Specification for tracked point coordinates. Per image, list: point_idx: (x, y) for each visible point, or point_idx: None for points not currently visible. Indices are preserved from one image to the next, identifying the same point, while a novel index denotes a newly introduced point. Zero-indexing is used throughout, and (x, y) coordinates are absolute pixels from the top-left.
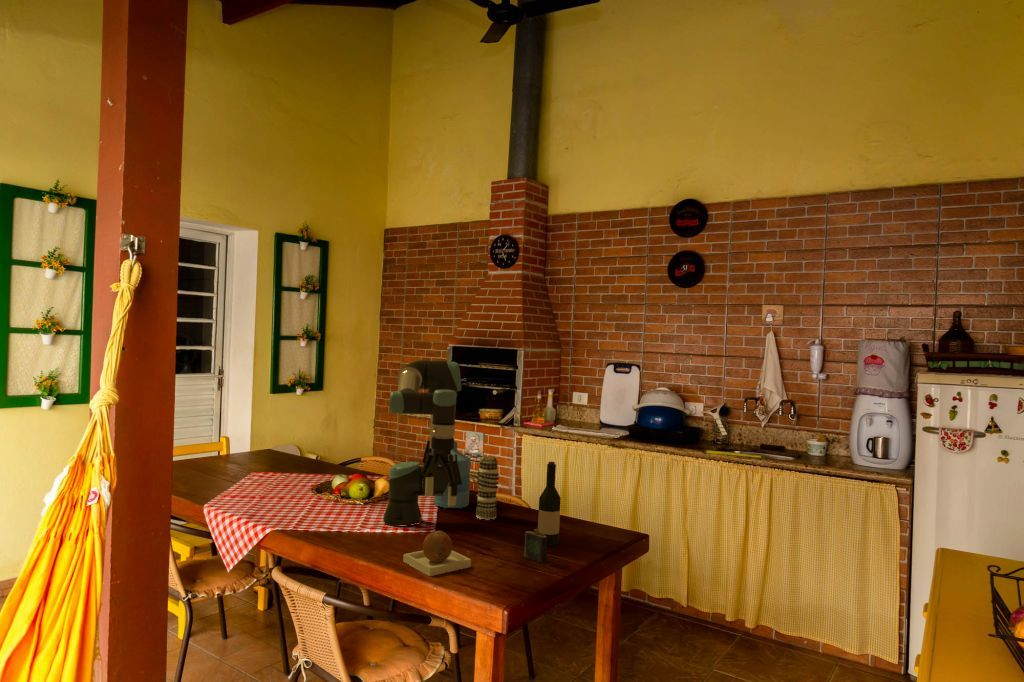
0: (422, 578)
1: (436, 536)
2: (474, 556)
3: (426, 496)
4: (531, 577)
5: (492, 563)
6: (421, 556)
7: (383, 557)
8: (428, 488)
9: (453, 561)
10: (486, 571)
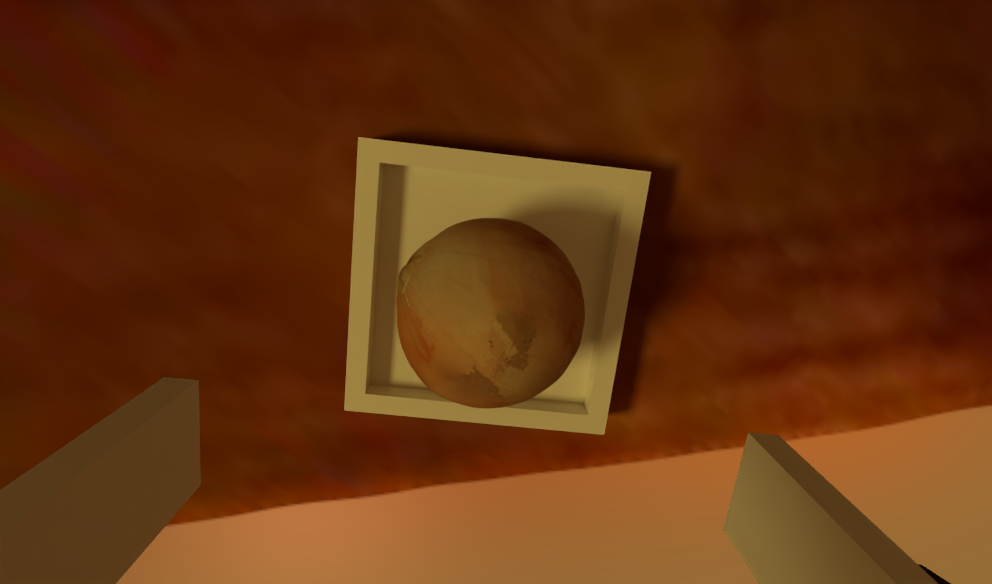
0: (592, 453)
1: (528, 382)
2: (522, 20)
3: (197, 484)
4: (983, 15)
5: (682, 23)
6: (376, 306)
7: (241, 428)
8: (121, 537)
9: (549, 222)
10: (742, 150)
